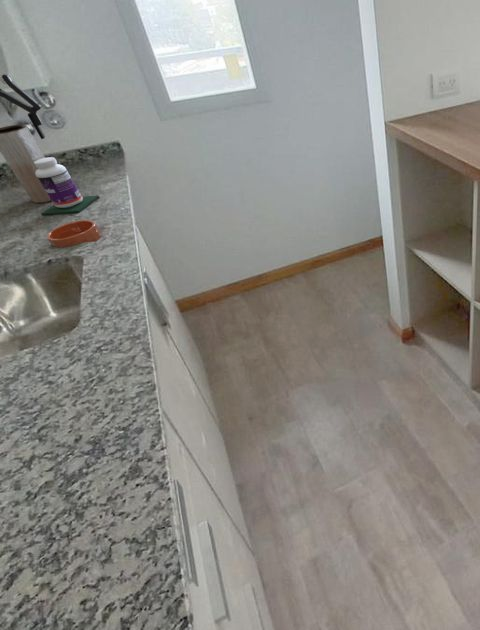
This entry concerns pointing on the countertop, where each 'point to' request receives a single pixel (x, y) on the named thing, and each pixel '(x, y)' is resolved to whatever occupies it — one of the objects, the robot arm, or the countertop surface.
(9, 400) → the countertop surface
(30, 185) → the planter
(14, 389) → the countertop surface
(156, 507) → the countertop surface
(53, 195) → the pill bottle
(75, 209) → the mat
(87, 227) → the bowl
